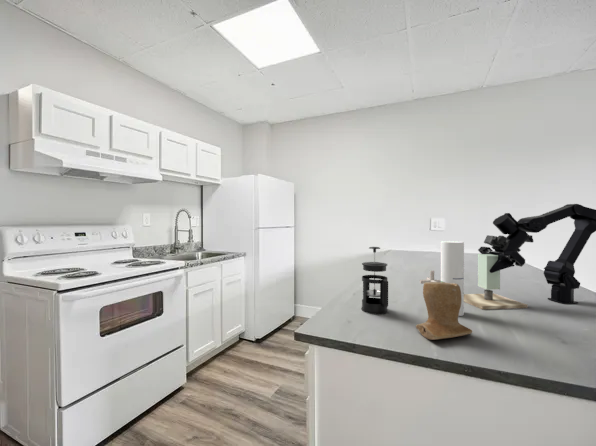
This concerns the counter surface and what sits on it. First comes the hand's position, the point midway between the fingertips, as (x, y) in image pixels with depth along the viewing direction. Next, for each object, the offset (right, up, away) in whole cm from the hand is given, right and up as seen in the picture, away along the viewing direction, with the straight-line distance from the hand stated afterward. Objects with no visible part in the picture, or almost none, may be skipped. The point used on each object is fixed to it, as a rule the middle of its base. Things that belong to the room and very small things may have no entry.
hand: (485, 270), depth 111 cm
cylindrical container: (-20, -13, -12) cm, 26 cm away
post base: (+1, -13, 0) cm, 13 cm away
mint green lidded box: (+1, -7, 0) cm, 7 cm away
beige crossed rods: (-14, -13, +15) cm, 24 cm away
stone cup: (-33, -13, -30) cm, 47 cm away
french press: (-46, -13, -9) cm, 49 cm away
